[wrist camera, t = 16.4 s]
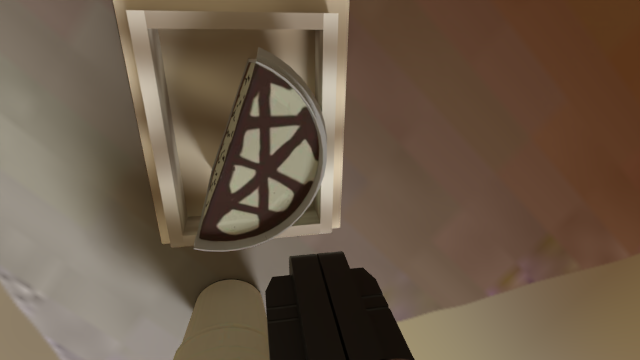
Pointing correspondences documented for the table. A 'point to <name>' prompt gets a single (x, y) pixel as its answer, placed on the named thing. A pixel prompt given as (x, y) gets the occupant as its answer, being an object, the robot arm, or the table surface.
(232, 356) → the ice cream cone
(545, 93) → the table surface
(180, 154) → the holder
